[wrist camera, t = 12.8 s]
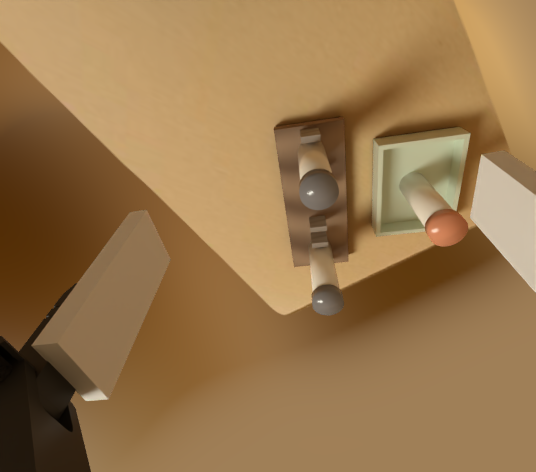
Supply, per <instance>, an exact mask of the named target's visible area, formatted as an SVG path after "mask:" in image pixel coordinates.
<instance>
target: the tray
mask: <svg viewBox="0 0 536 472" xmlns="http://www.w3.org/2000/svg"><path fill="white" fill-rule="evenodd" d="M470 134H471V133H469V132H468V131H466V130H464V129H463V128H461V127H454V128H446V129H439V130H432V131H425V132H418V133H411V134H404V135H397V136H390V137H382V138H375V139H373V188H372V228H373V230H374V233H375V235H376V237H378V236H387V235H397V234H406V233H416V232H425V227H424V225H423V224H422V222H421V221H420V219H419V218H418V216H417V215H416V214H415V212H414V211H413V209H412V208H411V206H410V205H409V203H408V202H407V200H406V199H405V197H404V196H403V194H402V193H401V191H400V189H399V183H400V181H401V179H402V178H403V177H404V176H405V175H406V174H408V173H411V172H418V173H421V174H422V175H423V176H424V177H425V178H426V179H427V180H428V181H429V183H430V184H431V185H432V186H433V187H434V188H435V189H436V191H437V192H438V193H439V194H440V195H441V196H442V197H443V198H444V200H445V201H446V202H447V203H448V204H449V205H450V206H451V208H452V209H453V210H455V211H457V206H458V200H459V195H460V189H461V184H462V178H463V173H464V167H465V162H466V156H467V151H468V145H469V140H470Z"/></svg>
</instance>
